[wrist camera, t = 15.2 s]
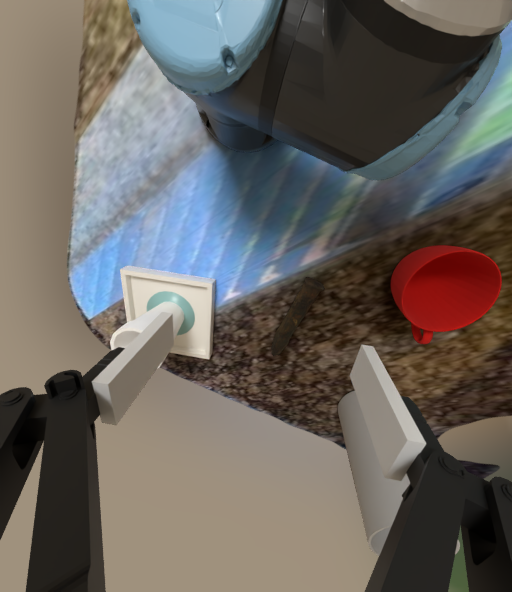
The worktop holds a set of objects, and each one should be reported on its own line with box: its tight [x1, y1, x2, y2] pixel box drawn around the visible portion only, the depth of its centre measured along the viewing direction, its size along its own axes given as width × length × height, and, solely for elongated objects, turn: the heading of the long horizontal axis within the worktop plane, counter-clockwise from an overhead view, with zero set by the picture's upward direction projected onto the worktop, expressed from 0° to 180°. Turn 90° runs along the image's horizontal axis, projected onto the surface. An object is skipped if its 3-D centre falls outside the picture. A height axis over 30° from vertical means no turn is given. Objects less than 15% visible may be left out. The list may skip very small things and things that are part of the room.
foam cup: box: [110, 301, 184, 368], centre depth 46 cm, size 10×9×13 cm
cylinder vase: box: [338, 391, 460, 556], centre depth 47 cm, size 12×12×25 cm
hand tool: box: [272, 277, 325, 356], centre depth 48 cm, size 19×4×5 cm, turn 153°
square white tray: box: [120, 266, 216, 359], centre depth 52 cm, size 19×19×2 cm
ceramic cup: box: [391, 245, 502, 344], centre depth 39 cm, size 13×17×10 cm
